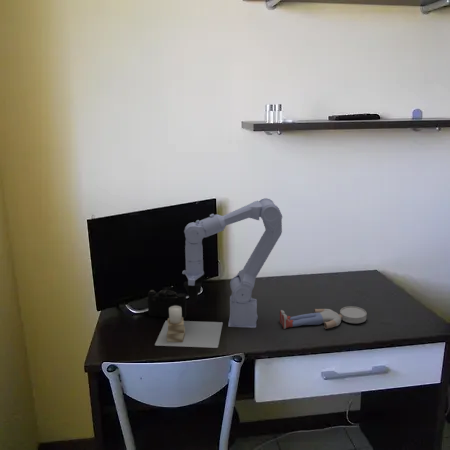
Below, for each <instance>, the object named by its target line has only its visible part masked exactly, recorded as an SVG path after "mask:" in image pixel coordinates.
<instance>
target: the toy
mask: <svg viewBox="0 0 450 450" xmlns="http://www.w3.org/2000/svg"><path fill="white" fill-rule="evenodd" d="M367 315H368V314H367V311H366V309H364V308H361V307H359V306H351V305H350V306H344V307H342V308H341V309H340V310H339V313H338V312H336V311H334V310H333V309H330V308H314V309H313V312H311V313H304V314H298V315H293V316H290V315H287V314H286V313H285V311H284V310H283V309H280V311H279V323H280V325H282V328H283V329H284V330H286V329H288V328H293V327H300V326H316V325H317V326H318V325H321V324H323V326H324V328H325V330H326V329H333V328H335V327H338V326H339V325H340V324H341V322H342V321H343V322H345V323H347V324H348V323H349V324H361V323H364V322H366V320H367Z"/></svg>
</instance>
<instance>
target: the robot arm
mask: <svg viewBox="0 0 450 450" xmlns="http://www.w3.org/2000/svg"><path fill="white" fill-rule="evenodd" d="M260 218H261V220H262V223H263V226H264V232H263V233H262V235H261V237H260V238H259V241H258V242H257V244H256V246H255V248H253V250H252V253H251V254H250V256H249V258H248V260H247V261H246V263H245V265H244V267H243V268H242V269H241V270H239V272H237V274H236V275H235V276H233V277H232V278H231V280H230V282H229V287H230V290H231V295H230V296H229V317H228V319H229V320H228V327H230V328H249V329H250V328H251V329H255V328H257V322H258V321H257V320H258V319H259V318H258V313H257V312H258V308H257V307H258V300H257V298H253V297H252V295H253V294H252V293H253V289H254V287H255V284H256V283H255V282H256V278H257V276H258V275H259V273H260V271H261V269H262V268H263V267H264V264H265V263H266V261H267V259H268V257H269V256H270V255H271V252H272V251H273V249H274V247H275V245H276V244H277V242H278V241H279V239H280V237H281V236H282V233H283V226H282V225H283V223H282V222H283V221H282V219H283V215H282V212H281V210H280V208H279V207H278V205H276V204H275V202H274V201H273V200H271V198H267V197H265V198H261V199H260V200H255V201H253V202H251V203H249V204H246V205H244V206H241V207H240V208H237V209H235V210H233V211H230V212H228V213H226V214H224V215H221V214H214V213H211V214H209V216H208V217H205V218H203V219H201V220H199V219H197V220H196V221H195V222H194V221H193V222H189V223H188V224H186V226H185V227H184V230H183V233H184V237H185V241H184V242H185V245H184V248H185V249H184V253H185V254H184V256H185V269H184V270H182V273H181V274H182V275H185V276H186V278H187V281H184V282H183V287H184V288H185V290H186V293H187V296H188V299H189V302H190V303H197V302H198V298H199V294H200V293H201V290H202V284H203V279H204V278H205V277H204V276H205V274H206V271H204V259H203V258H204V256H203V255H204V253H203V252H204V251H203V250H204V249H203V239H204V238H209V237H210V236H213V235H215V234H218V233H220V232H223V231H224V230H225V229H226V226H228V225H232V224H235V223H237V222H241V221H243V220H244V221H245V220H247V219H253V220H256V221H260Z"/></svg>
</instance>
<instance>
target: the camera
mask: <svg viewBox="0 0 450 450" xmlns="http://www.w3.org/2000/svg"><path fill="white" fill-rule="evenodd" d="M147 293H148V294H147V309H148V310H147V311H148V316H150V317H158V318H167V319H168V318H169V307H171V306H180V307H181V308H182V317H183V320H184V319H186V317H187V296H186V294H184V293H177V292H176V291H174V290H170V289H167V288H165V289H164V288H163V289H162V290H160V291H158V292H157V291H155V290H154V289H150V290H149V291H148V292H147Z"/></svg>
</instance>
